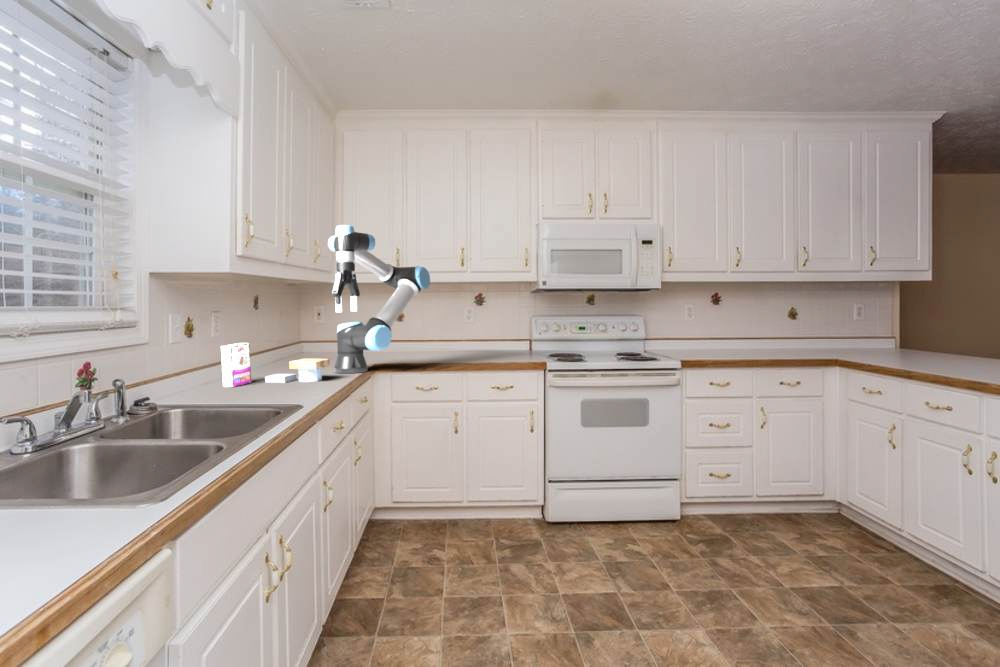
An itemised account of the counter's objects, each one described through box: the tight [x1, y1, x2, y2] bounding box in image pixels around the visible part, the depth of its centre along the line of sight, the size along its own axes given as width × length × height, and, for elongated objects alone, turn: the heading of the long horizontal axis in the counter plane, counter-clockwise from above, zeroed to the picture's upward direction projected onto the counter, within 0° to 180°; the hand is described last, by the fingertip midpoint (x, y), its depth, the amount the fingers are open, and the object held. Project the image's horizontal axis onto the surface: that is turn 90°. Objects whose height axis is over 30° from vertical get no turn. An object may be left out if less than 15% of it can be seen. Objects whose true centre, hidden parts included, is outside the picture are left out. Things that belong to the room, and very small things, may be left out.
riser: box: [264, 373, 297, 384], centre depth 210 cm, size 8×9×2 cm
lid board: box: [288, 358, 331, 370], centre depth 211 cm, size 11×12×3 cm
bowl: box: [297, 368, 323, 383], centre depth 212 cm, size 9×9×6 cm
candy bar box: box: [220, 342, 252, 388], centre depth 201 cm, size 11×5×16 cm, turn 171°
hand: (346, 311), depth 217 cm, fingers open, 13 cm apart
